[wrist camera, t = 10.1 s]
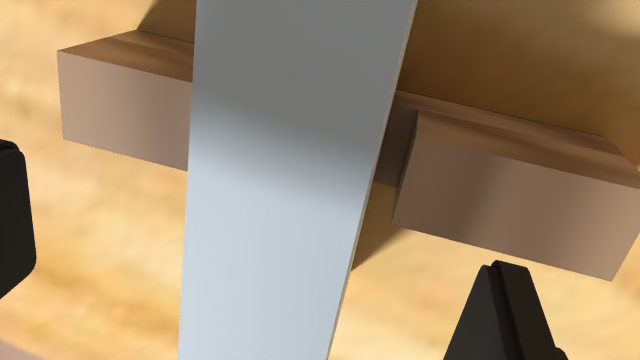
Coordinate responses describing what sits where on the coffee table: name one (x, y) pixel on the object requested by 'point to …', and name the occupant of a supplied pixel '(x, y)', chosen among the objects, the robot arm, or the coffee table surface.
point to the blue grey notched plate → (281, 168)
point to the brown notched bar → (392, 157)
